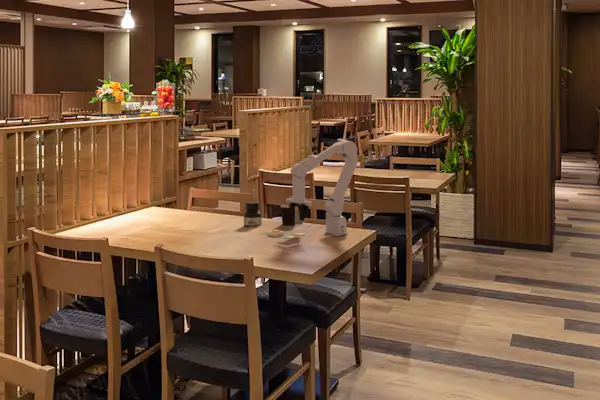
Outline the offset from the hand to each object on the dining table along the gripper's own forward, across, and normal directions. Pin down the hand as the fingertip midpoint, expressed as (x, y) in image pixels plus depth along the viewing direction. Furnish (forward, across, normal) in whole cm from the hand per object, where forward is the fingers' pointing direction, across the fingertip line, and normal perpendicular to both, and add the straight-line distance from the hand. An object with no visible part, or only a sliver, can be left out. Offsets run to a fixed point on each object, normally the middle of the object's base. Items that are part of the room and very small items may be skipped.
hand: (298, 219), depth 294 cm
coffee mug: (+8, -20, +15) cm, 26 cm away
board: (+8, -5, -3) cm, 10 cm away
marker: (+2, 0, 0) cm, 2 cm away
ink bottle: (+8, -33, +1) cm, 34 cm away
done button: (+6, -7, -8) cm, 12 cm away
